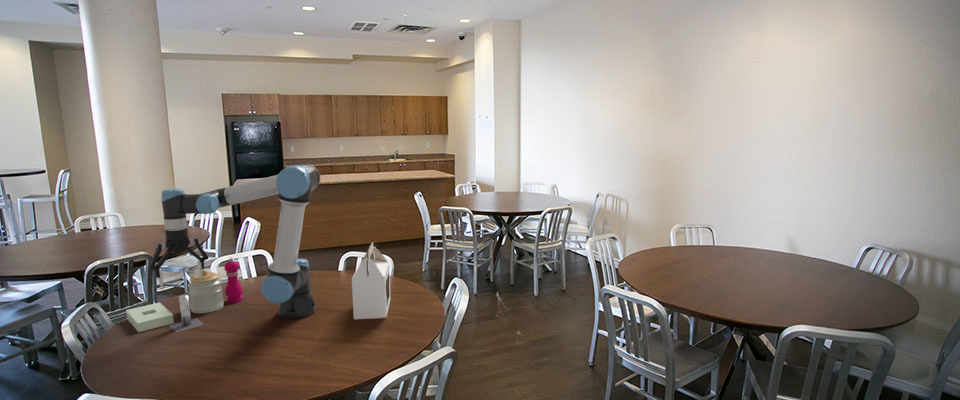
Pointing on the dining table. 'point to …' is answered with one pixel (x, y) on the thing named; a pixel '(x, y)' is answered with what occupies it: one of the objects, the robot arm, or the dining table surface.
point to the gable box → (371, 286)
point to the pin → (185, 310)
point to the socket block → (149, 317)
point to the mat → (179, 327)
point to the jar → (205, 293)
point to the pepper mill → (233, 282)
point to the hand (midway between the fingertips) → (181, 281)
